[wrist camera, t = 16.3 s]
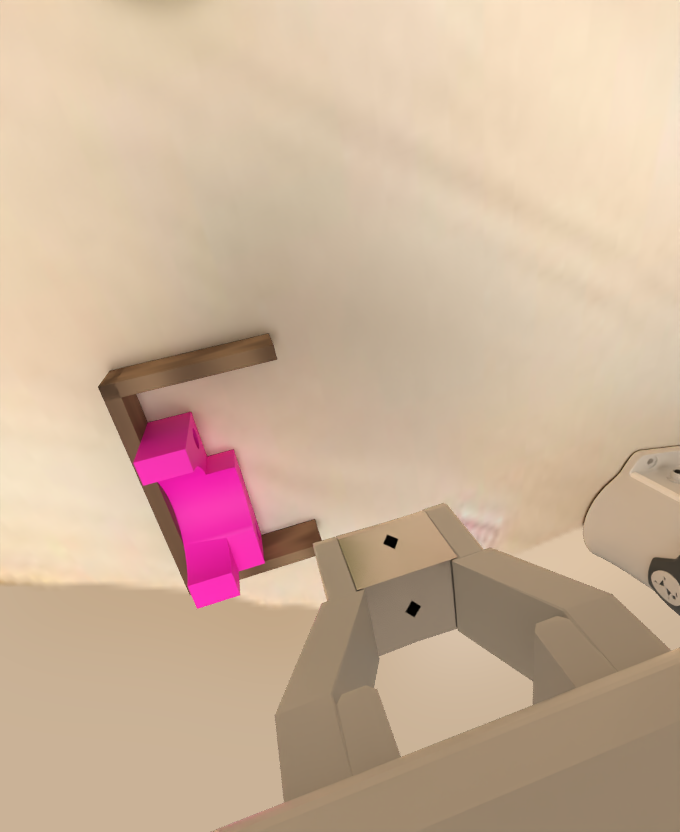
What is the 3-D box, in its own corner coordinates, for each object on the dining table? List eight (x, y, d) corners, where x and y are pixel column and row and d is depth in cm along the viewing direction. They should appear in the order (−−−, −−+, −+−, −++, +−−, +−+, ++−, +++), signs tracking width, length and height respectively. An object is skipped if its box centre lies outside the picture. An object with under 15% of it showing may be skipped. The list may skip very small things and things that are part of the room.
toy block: (261, 533, 46) (267, 586, 40) (200, 552, 46) (197, 608, 39) (219, 403, 40) (219, 439, 33) (148, 421, 39) (133, 462, 32)
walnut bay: (268, 333, 38) (273, 345, 35) (317, 528, 48) (324, 552, 44) (109, 370, 37) (97, 386, 33) (192, 566, 46) (190, 595, 42)
